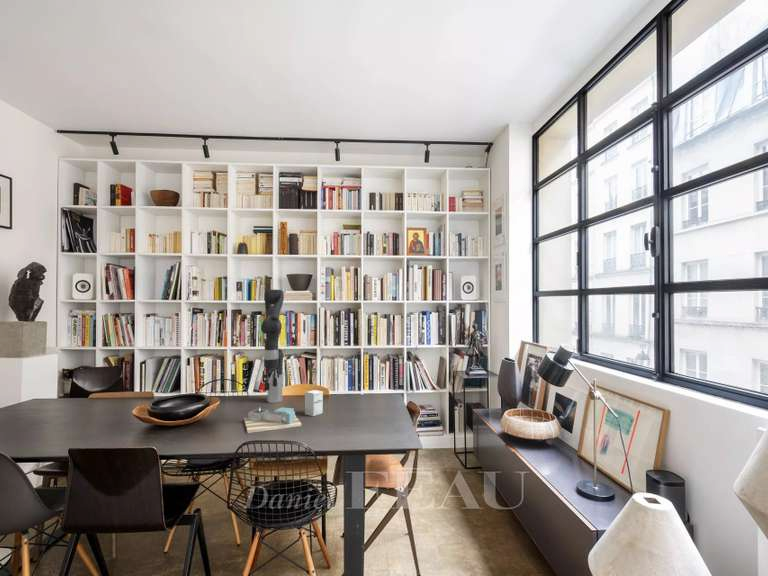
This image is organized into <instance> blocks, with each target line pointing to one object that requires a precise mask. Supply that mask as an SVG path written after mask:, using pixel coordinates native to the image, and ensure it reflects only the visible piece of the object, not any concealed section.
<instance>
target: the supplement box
mask: <svg viewBox="0 0 768 576" xmlns="http://www.w3.org/2000/svg"><path fill="white" fill-rule="evenodd" d="M323 399H324V391H322V390H318V389H317V390H316V389H313V390H309V391H305V392H304V415H306V416H310V417H314V416H315V417H316V416H318V415H322V414H323V412H324V411H323V410H324V409H323V407H324V406H323V405H324V404H323V403H324V400H323Z"/></svg>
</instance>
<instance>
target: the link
mask: <svg viewBox="0 0 768 576" xmlns="http://www.w3.org/2000/svg"><path fill="white" fill-rule="evenodd" d="M274 411H275V410H273V411H272V410H270V409H265V408H264V409H262V408H261V413H257V408H256V409H254V410H252V411H249V412H248V416H247V418H248V420H250V421H259V422H261V421H269V422H278V423H282V422H284V421H286V414H281V413H274Z"/></svg>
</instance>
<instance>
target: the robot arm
mask: <svg viewBox="0 0 768 576" xmlns="http://www.w3.org/2000/svg"><path fill="white" fill-rule="evenodd" d="M284 295H285V294H284V291H283V290H282V289H266V290H265V292H264V308H265V318H264V319H263V321H262V322H261V325H260V329H261V333H262V334H265V339H264V352H263V367H264V368H266V369H265V370H262V383H263V384H264V390H265V391H267V399H266V400H267V401H266V402H267V403H270V404H275V403H280V402H281V403H282V401H283V364H284V363H283V362H284V350H282V348H281V349H279V338H280V335H281V332H282V327H283V324H282V323H281V321H280V313H281V311H282V307H283V304H284V300H285V299H284V297H285V296H284Z"/></svg>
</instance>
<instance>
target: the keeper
mask: <svg viewBox="0 0 768 576" xmlns="http://www.w3.org/2000/svg"><path fill="white" fill-rule="evenodd" d="M294 409H295V408H291V407H283V406H281V407H279V408H277V409H274V410H273V411H274V413H281V414H286V424H291V423H293V422H294V421H295V416H296V411H295V410H294Z"/></svg>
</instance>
